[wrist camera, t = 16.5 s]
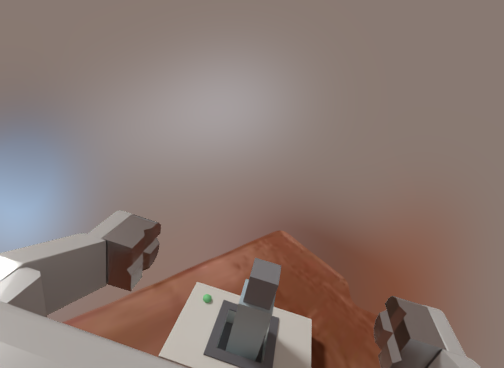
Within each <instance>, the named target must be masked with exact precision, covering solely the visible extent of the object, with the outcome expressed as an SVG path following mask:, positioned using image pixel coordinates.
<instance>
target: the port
mask: <svg viewBox="0 0 504 368" xmlns="http://www.w3.org/2000/svg"><path fill="white" fill-rule="evenodd" d="M240 297H241V296H239V295H236V294H233V293H230V292H227V291H224V290H221V289H218V288H215V287H211V286H208V285H205V284H202V283H199V282H197V283H196V285H195V287H194V289H193V291H192V293H191V295H190V297H189V298H188V300H187V302H186V304H185V306H184V308H183V310H182V312H181V314H180V316H179V318H178V319H177V321H176V323H175V325H174V327H173V329H172V331H171V333H170V335H169V337H168V339H167V340H166V342H165V344H164V346H163V348H162V350H161V352H160V354H159V358H162V359H165V360H167V361H170V362H173V363H176V364H179V365H181V366H184V367H187V368H311V322H312V319H309V318H306V317H303V316H300V315H297V314H294V313H291V312H288V311H285V310H282V309H279V308H276V307H273V314H272V317H271V320H270V322H269V325H268V328H267V331H266V333H265V336H264V339H263V341H262V344H261V347H260V350H259V352H258V355H257V358H256V361H253V360H250V359H248V358H245V357H242V356H239V355H236V354H233V353H230V352H227V351H225V350H226V347H227V343H228V340H229V336H230V333H231V329H232V325H233V322H234V318H235V315H236V311H237V308H238V304H239V301H240Z"/></svg>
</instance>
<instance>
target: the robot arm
mask: <svg viewBox="0 0 504 368" xmlns="http://www.w3.org/2000/svg"><path fill="white" fill-rule="evenodd" d="M160 230H161V225H160V224H159V223H158V222H155V221H152V220H149V219H146V218H143V217H140V216H137V215H134V214H131V213H128V212H125V211H122V210H121V211H116V212H115V213H114V214H112V215H111V216H110V217H108V218H107V219H106V220H105V221H103V222H102V223H101V224H99V225H98V226H97V227H95V228H94V229H93V230H91V231H90V232H89V233H88V234H84V233H80V234H76V235H72V236H68V237H64V238H60V239H56V240H52V241H48V242H44V243H40V244H36V245H32V246H28V247H24V248H20V249H15V250H11V251H8V252H3V253H0V368H187V367H184V366H181V365H179V364H176V363H173V362H170V361H167V360H165V359H162V358H159V357H156V356H153V355H151V354H148V353H145V352H142V351H139V350H137V349H134V348H131V347H128V346H125V345H122V344H120V343H117V342H114V341H111V340H108V339H106V338H103V337H100V336H97V335H94V334H92V333H89V332H86V331H83V330H80V329H78V328H75V327H72V326H69V325H66V324H64V323H61V322H58V321H55V320H52V319H50V318H47V315H49V314H51V313H53V312H55V311H57V310H58V309H61V308H63V307H64V306H66V305H68V304H70V303H72V302H74V301H76V300H78V299H80V298H82V297H84V296H86V295H88V294H90V293H92V292H94V291H96V290H98V289H100V288H102V287H104V286H106V284H108V285H112V286H115V287H118V288H121V289H125V290H128V291H131V290H132V289H133V288H134V287H135V285H136V284H137V283H138V282H139V280H140V279H141V278H142V271H143V270H146V269H148V268H150V266H151V265H152V264H153V262H154V260H155V258H156V256H157V253H158V250H159V241H158V240H157V238H156V237H157V236H158V235H159V234H160ZM385 305H386V309H387V310H386V311H383V312H381V313H379V315H378V317H377V319H376V320H375V325H374V338H375V343H376V344H377V345H378V346H379V348H380V349H381V350H382V351H381V352H380V354H379V355H378V357H379V361H380V365H381V368H481V367H480V366H479V365H478V364H477V363H475V362H474V360H473V359H470V358H467V357H466V355H465V353H464V351H463V349H462V347H461V346H460V344H459V342H458V340H457V338H456V336H455V334H454V332H453V330H452V328H451V326H450V324H449V322H448V320H447V318H446V317H445V315H444V313H443V312H442V311H441V310H439V309H436V308H432V307H429V306H425V305H420V304H417V303H414V302H410V301H407V300H404V299H400V298H397V297H394V296H391V297H390V298H388V300H387V302H386V303H385Z"/></svg>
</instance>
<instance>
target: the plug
mask: <svg viewBox="0 0 504 368" xmlns="http://www.w3.org/2000/svg"><path fill="white" fill-rule="evenodd" d="M280 271H281V266H280V265H277V264H274V263H271V262H267V261H264V260H261V259H258V258H255V261H254V264H253V268H252V271H251V275H250V278H249V280H248V279H246V280H245V284H244V287H243V290H242V294H241V297H240V301H239V304H238V308H237V311H236V315H235V318H234V322H233V325H232V329H231V333H230V336H229V340H228V343H227V347H226V350H225V351H227V352H230V353H233V354H236V355H239V356H242V357H245V358H248V359H250V360H253V361H256V358H257V355H258V352H259V350H260V347H261V344H262V341H263V339H264V336H265V333H266V331H267V328H268V325H269V322H270V320H271V317H272V314H273V307H274V301H275V294H276V291H277V288H278V284H279V278H280Z"/></svg>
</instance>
